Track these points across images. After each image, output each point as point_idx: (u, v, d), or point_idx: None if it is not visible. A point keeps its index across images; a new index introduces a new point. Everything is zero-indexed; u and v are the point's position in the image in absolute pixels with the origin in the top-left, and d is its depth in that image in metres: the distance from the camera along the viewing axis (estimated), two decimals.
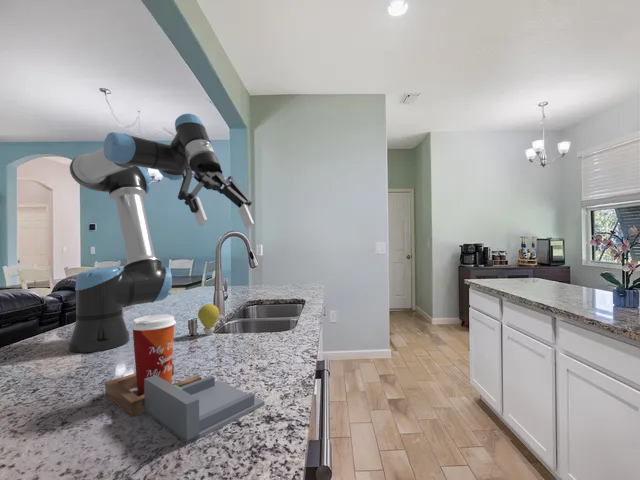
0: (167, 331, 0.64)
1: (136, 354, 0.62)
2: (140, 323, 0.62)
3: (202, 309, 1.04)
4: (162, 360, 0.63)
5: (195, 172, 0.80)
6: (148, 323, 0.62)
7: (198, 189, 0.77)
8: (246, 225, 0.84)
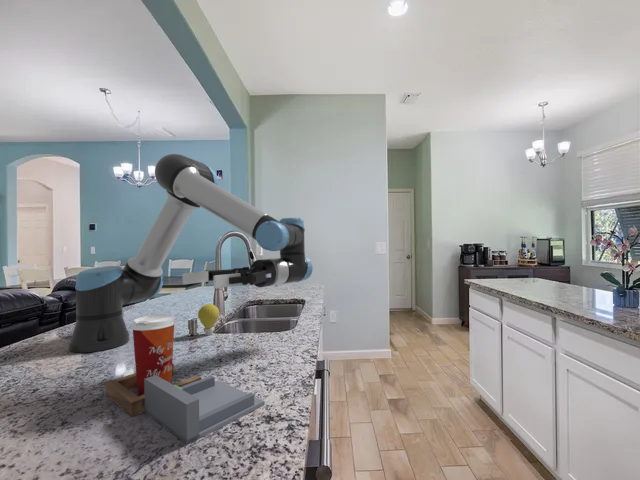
0: (167, 331, 0.64)
1: (136, 354, 0.62)
2: (140, 323, 0.62)
3: (202, 309, 1.04)
4: (162, 360, 0.63)
5: None
6: (148, 323, 0.62)
7: None
8: (187, 275, 0.78)
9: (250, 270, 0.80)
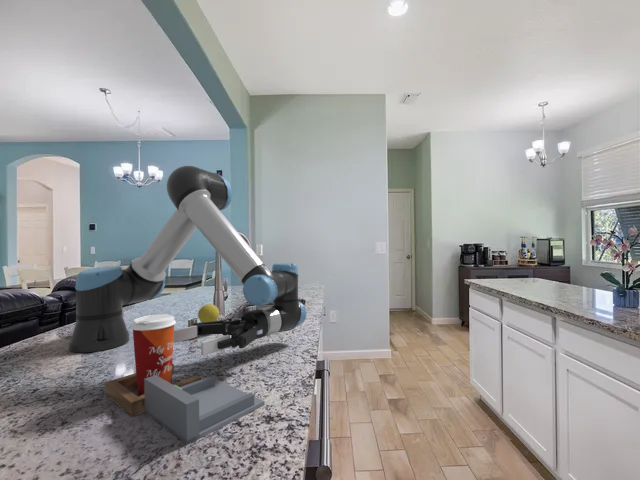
0: (167, 331, 0.64)
1: (136, 354, 0.62)
2: (140, 323, 0.62)
3: (202, 309, 1.04)
4: (163, 360, 0.63)
5: None
6: (148, 323, 0.62)
7: None
8: (174, 333, 0.75)
9: (240, 327, 0.77)
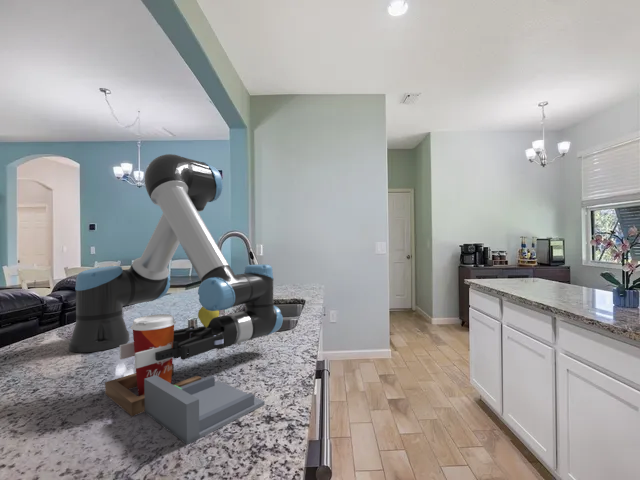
0: (167, 331, 0.64)
1: None
2: (140, 323, 0.62)
3: (202, 309, 1.04)
4: None
5: None
6: (148, 323, 0.62)
7: None
8: (125, 347, 0.64)
9: (198, 335, 0.70)
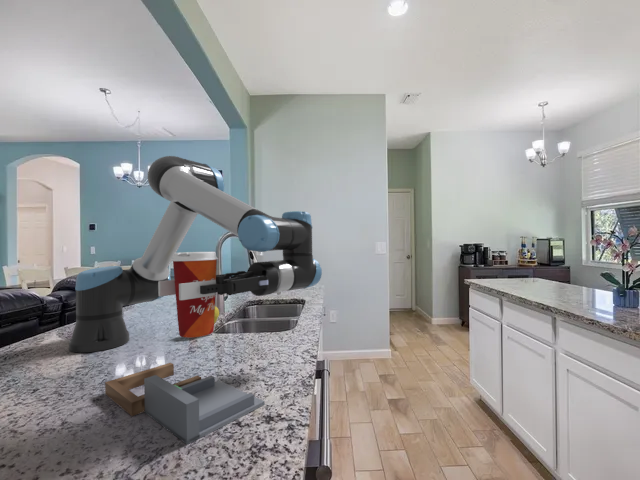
0: (211, 265, 0.58)
1: (178, 289, 0.56)
2: (182, 254, 0.56)
3: None
4: (207, 296, 0.57)
5: None
6: (191, 254, 0.56)
7: None
8: (164, 284, 0.58)
9: (240, 275, 0.64)
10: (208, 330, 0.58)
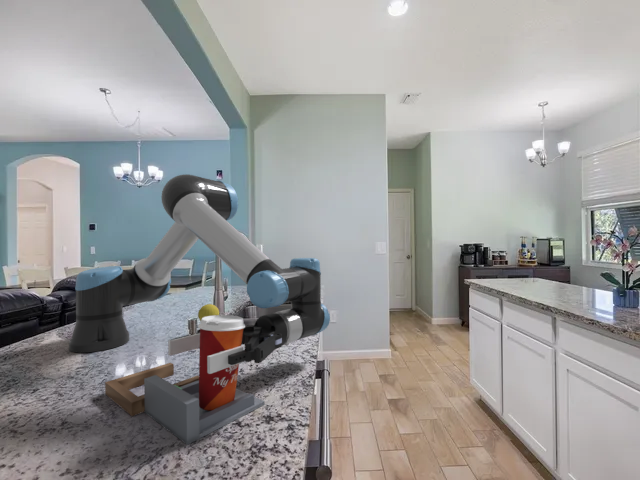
0: (239, 335, 0.56)
1: (203, 358, 0.55)
2: (211, 322, 0.55)
3: (202, 309, 1.04)
4: (231, 368, 0.55)
5: None
6: (220, 323, 0.54)
7: None
8: (174, 343, 0.60)
9: (255, 335, 0.63)
10: None
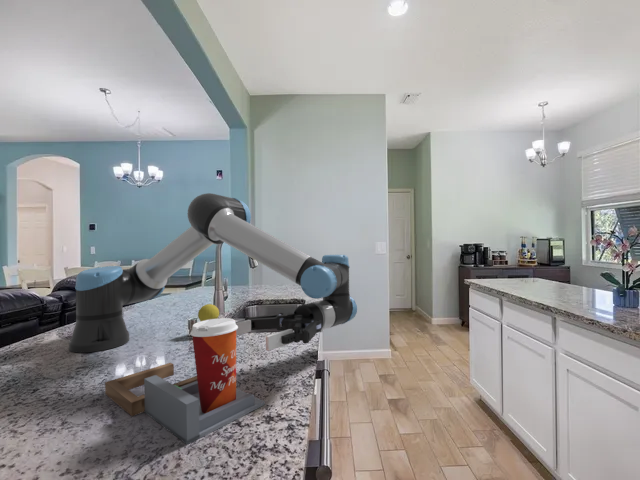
0: (230, 337, 0.56)
1: (198, 364, 0.55)
2: (201, 328, 0.54)
3: (202, 309, 1.04)
4: (227, 371, 0.55)
5: None
6: (210, 328, 0.54)
7: None
8: None
9: (299, 321, 0.72)
10: None
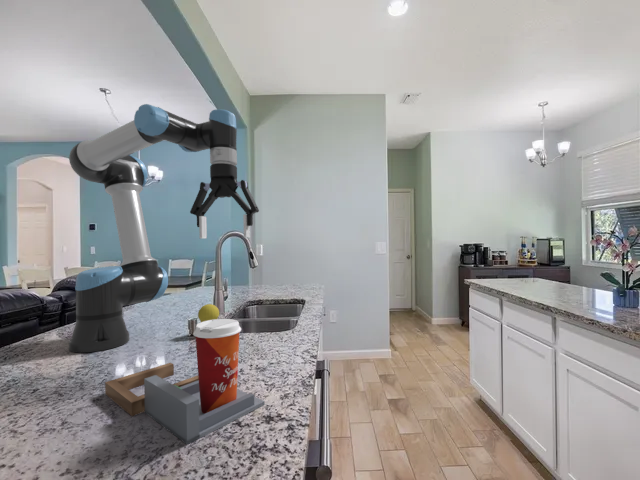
0: (234, 340, 0.56)
1: (200, 365, 0.55)
2: (204, 329, 0.54)
3: (202, 309, 1.04)
4: (229, 373, 0.55)
5: (209, 185, 0.93)
6: (214, 330, 0.54)
7: (204, 206, 0.93)
8: None
9: None
10: None
